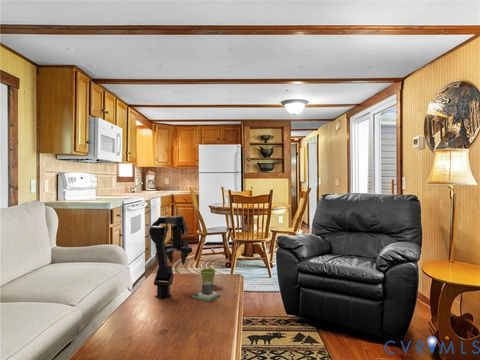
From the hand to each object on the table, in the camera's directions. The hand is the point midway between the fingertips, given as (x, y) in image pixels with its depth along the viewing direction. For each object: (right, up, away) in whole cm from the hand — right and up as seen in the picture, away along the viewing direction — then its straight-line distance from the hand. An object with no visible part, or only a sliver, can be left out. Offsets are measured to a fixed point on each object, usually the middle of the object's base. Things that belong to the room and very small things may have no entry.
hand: (177, 263), depth 206 cm
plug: (+20, -12, -20) cm, 30 cm away
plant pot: (+18, -13, +1) cm, 22 cm away
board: (+19, -13, -19) cm, 30 cm away
